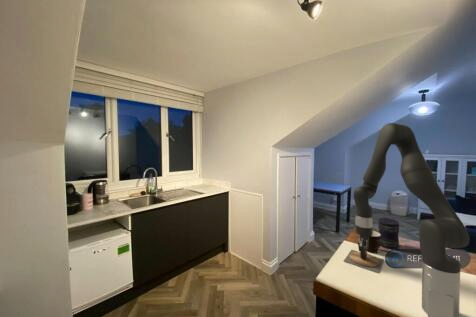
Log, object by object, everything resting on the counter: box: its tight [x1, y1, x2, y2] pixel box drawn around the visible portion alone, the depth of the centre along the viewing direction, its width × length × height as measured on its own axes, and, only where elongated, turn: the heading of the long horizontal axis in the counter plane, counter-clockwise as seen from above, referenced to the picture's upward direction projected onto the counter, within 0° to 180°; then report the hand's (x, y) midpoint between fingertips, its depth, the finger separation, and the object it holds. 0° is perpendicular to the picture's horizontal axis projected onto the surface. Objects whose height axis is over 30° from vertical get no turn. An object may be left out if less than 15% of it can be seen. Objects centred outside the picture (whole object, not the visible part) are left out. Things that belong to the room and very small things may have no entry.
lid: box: [349, 250, 379, 267], centre depth 103 cm, size 13×13×5 cm
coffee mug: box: [367, 230, 381, 254], centre depth 111 cm, size 12×9×10 cm
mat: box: [343, 249, 385, 274], centre depth 103 cm, size 15×15×1 cm
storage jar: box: [377, 217, 400, 251], centre depth 117 cm, size 10×10×15 cm
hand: (363, 257), depth 103 cm, fingers closed on lid, 2 cm apart
